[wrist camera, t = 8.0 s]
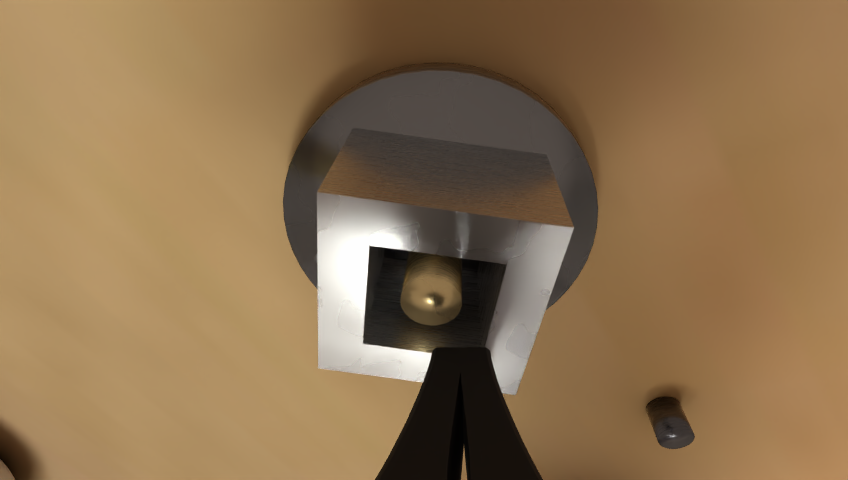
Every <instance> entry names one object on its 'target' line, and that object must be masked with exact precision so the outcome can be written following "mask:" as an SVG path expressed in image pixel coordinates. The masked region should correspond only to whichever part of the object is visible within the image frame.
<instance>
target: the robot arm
mask: <svg viewBox="0 0 848 480" xmlns="http://www.w3.org/2000/svg"><path fill="white" fill-rule="evenodd" d="M463 448H464V449H465V460H466V470H467V480H543V479H542V477H541V475H540V474H539V472H538V470H537V468H536V466H535V464H534V462H533V461H532V459H531V457H530V455H529V453H528V451H527V449H526V447H525V445H524V443H523V441H522V439H521V436H520V434H519V432H518V430H517V428H516V426H515V423H514V421H513V419H512V416H511V414H510V412H509V409H508V407H507V405H506V402H505V400H504V397H503V394H502V392H501V389H500V386H499V383H498V380H497V377H496V374H495V370H494V367H493V362H492V358H491V352H490V350H489V349H488V348H486V347H436V348H435V349H434V350H433V351H432V355H431V359H430V363H429V366H428V369H427V372H426V375H425V378H424V381H423V384H422V386H421V389H420V391H419V394H418V396H417V399H416V401H415V403H414V405H413V408H412V410H411V412H410V415H409V417H408V419H407V421H406V423H405V425H404V427H403V429H402V431H401V433H400V435H399V437H398V439H397V441H396V443H395V445H394V447H393V449H392V451H391V453H390V455H389V456H388V458H387V460H386V462H385V464H384V465H383V467H382V469H381V471H380V472H379V474H378V476H377V477H376V479H375V480H461V472H462V460H463Z"/></svg>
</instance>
